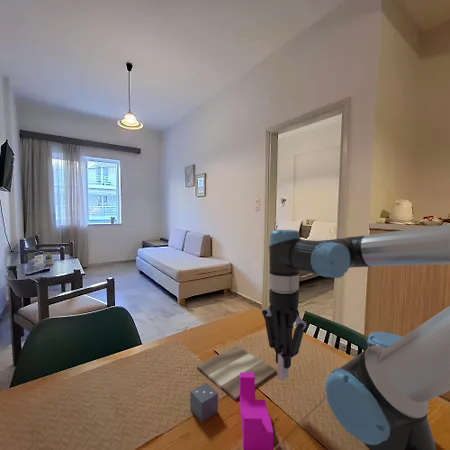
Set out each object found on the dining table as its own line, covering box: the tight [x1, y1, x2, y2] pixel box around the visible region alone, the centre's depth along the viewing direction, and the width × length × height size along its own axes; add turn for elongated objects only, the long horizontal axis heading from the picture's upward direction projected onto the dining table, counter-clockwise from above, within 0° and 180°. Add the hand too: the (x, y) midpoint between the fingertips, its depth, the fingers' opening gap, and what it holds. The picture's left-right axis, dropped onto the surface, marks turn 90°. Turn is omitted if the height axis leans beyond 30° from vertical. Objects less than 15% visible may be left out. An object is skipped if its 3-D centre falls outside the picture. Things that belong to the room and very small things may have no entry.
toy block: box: [239, 372, 274, 450], centre depth 61 cm, size 15×6×8 cm, turn 0°
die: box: [189, 382, 219, 423], centre depth 64 cm, size 5×5×5 cm
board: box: [196, 345, 278, 401], centre depth 80 cm, size 18×18×1 cm
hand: (283, 377), depth 67 cm, fingers closed
